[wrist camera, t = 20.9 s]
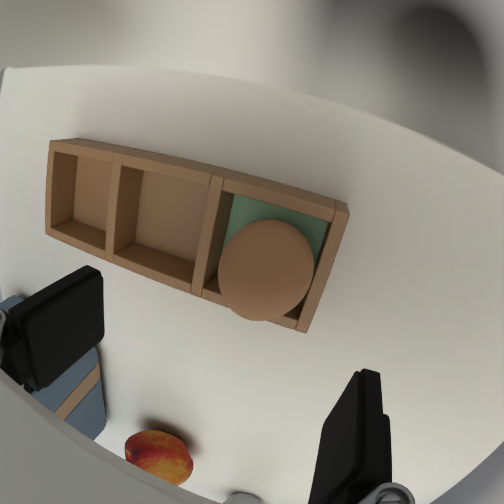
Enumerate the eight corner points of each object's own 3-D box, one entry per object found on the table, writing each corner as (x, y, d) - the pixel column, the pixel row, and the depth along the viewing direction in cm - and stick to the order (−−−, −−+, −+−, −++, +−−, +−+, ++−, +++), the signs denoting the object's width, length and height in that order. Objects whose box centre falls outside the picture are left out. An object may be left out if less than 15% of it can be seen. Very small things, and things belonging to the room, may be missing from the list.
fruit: (167, 411, 31) (133, 461, 24) (214, 453, 32) (190, 504, 25) (132, 422, 34) (101, 464, 27) (175, 460, 35) (150, 502, 28)
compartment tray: (347, 203, 20) (350, 214, 17) (311, 308, 23) (306, 334, 20) (77, 138, 23) (49, 140, 20) (70, 224, 26) (45, 233, 23)
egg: (244, 203, 21) (195, 235, 14) (322, 215, 20) (316, 256, 12) (238, 275, 23) (193, 334, 15) (310, 288, 22) (296, 358, 14)
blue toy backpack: (105, 341, 30) (5, 435, 15) (113, 425, 36) (52, 502, 21) (15, 285, 32) (-74, 340, 18) (33, 372, 38) (-29, 427, 24)
